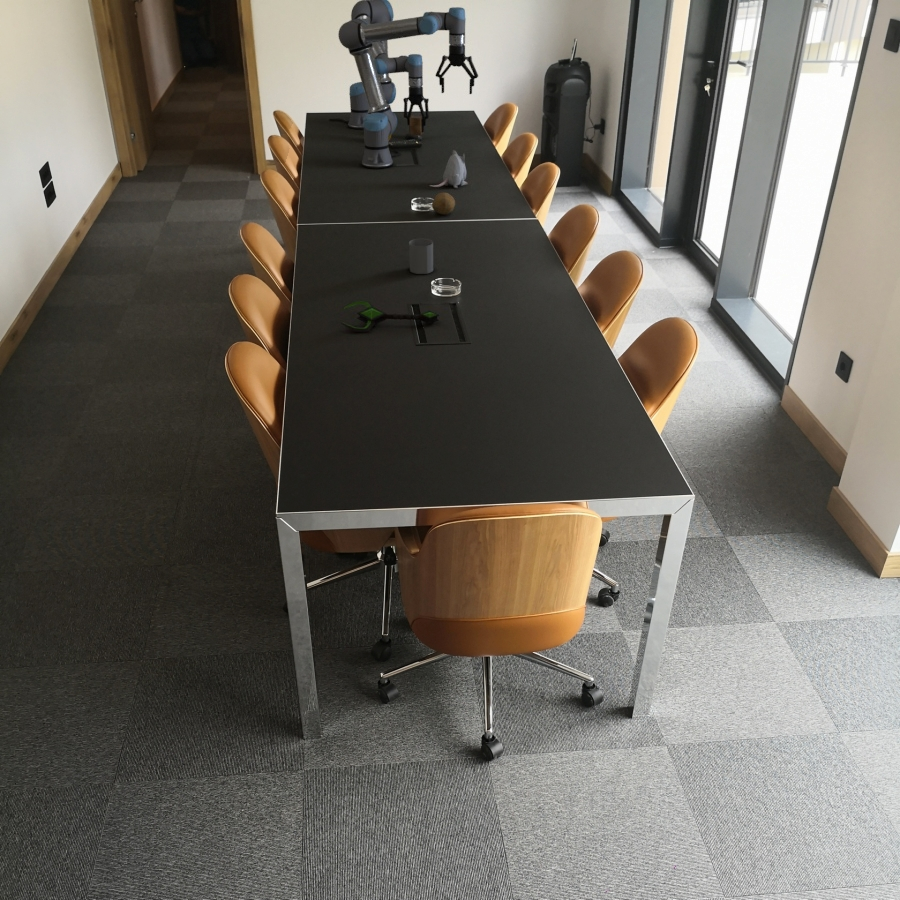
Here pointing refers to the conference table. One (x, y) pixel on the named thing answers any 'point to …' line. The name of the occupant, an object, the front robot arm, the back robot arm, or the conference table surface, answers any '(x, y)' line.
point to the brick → (416, 125)
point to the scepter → (385, 316)
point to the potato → (443, 203)
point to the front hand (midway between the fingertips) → (456, 93)
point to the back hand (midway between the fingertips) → (416, 131)
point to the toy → (454, 171)
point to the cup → (421, 256)
